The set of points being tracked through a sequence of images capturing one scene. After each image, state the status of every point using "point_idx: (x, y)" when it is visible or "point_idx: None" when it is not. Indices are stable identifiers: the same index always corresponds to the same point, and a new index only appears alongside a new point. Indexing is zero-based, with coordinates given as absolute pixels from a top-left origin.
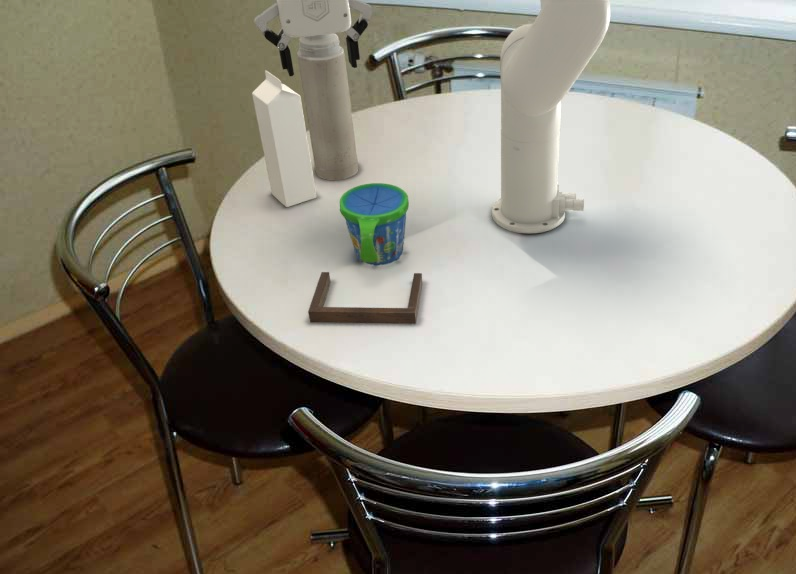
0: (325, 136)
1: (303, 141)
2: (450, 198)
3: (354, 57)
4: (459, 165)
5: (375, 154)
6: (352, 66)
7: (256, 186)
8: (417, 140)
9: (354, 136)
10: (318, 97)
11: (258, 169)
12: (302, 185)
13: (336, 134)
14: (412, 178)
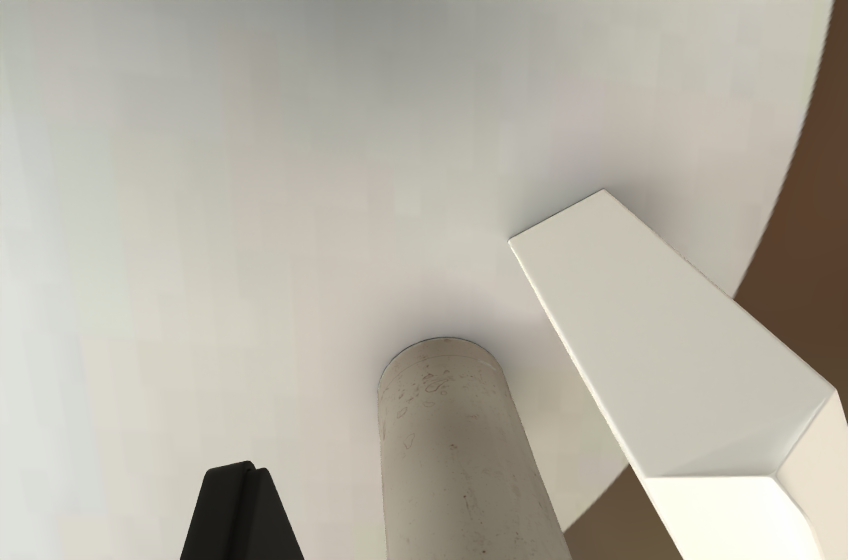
0: (484, 432)
1: (582, 331)
2: (46, 188)
3: (200, 557)
4: (49, 396)
5: (328, 471)
6: (261, 471)
7: None
8: None
9: (381, 468)
10: (525, 554)
11: None
12: (560, 241)
13: (444, 436)
14: (200, 330)
